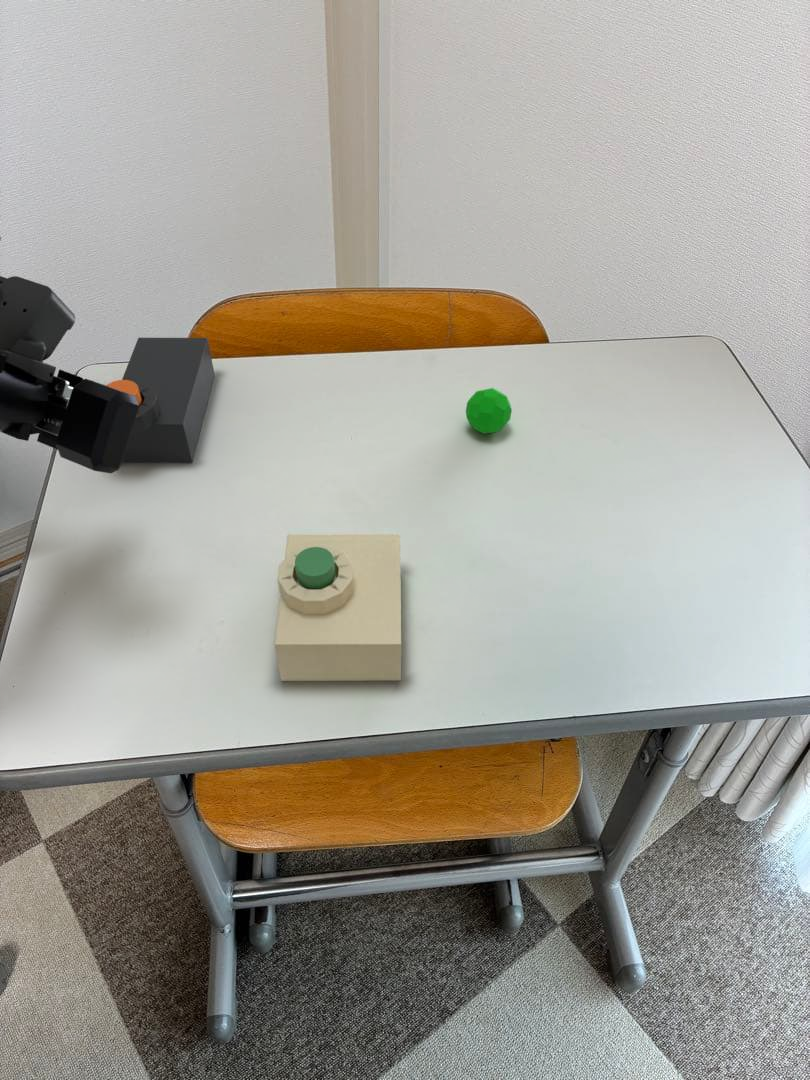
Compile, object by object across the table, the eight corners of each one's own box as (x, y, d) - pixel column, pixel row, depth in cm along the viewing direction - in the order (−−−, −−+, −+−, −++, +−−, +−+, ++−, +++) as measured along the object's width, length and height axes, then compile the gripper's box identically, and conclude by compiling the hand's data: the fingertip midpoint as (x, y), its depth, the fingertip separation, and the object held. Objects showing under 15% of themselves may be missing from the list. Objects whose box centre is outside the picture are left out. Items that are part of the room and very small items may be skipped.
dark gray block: (101, 473, 84) (82, 420, 79) (137, 374, 96) (123, 323, 91) (189, 473, 84) (176, 421, 79) (214, 375, 96) (205, 323, 91)
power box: (280, 681, 66) (271, 630, 61) (292, 572, 75) (285, 519, 70) (400, 680, 67) (401, 630, 61) (399, 572, 75) (400, 519, 70)
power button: (295, 590, 65) (293, 576, 63) (298, 560, 67) (296, 546, 66) (334, 589, 65) (333, 575, 63) (336, 560, 67) (335, 546, 66)
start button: (101, 415, 80) (97, 401, 79) (110, 393, 82) (106, 379, 81) (137, 415, 80) (133, 401, 79) (145, 393, 82) (141, 379, 81)
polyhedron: (475, 446, 87) (478, 411, 84) (457, 419, 91) (460, 385, 87) (516, 436, 89) (521, 401, 85) (497, 410, 92) (501, 376, 88)
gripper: (85, 300, 52) (215, 359, 66) (-113, 235, 57) (48, 302, 72) (34, 462, 53) (174, 485, 67) (-156, 382, 58) (11, 419, 73)
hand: (100, 417), depth 70 cm, fingers closed
